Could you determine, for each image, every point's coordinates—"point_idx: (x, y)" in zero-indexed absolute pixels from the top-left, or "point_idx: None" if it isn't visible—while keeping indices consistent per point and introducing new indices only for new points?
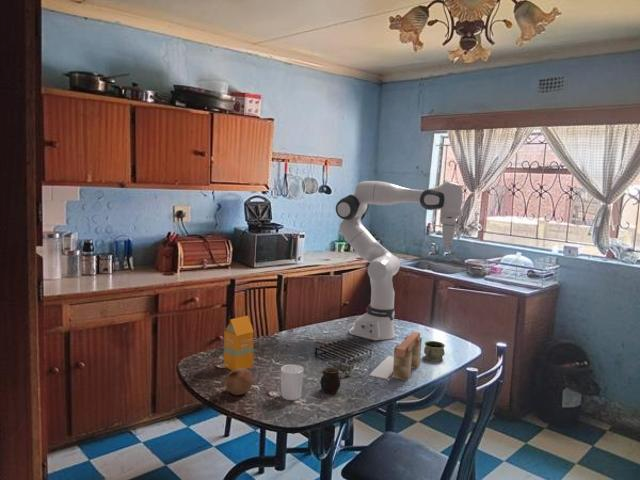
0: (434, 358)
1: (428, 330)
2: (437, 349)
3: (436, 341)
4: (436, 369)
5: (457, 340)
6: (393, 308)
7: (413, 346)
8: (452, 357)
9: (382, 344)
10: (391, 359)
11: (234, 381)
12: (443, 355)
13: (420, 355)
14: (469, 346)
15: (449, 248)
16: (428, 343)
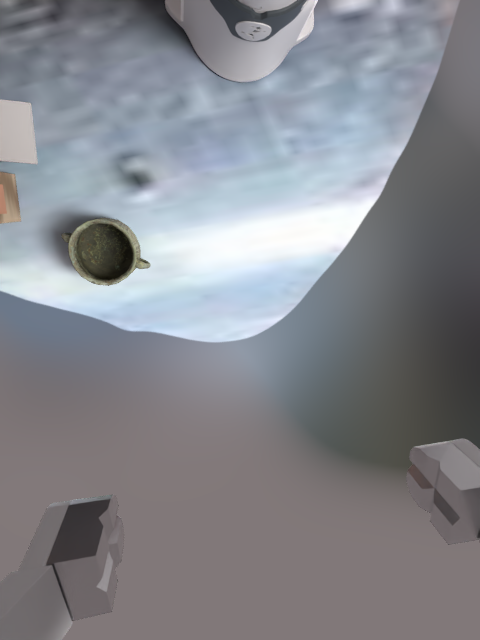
0: (88, 254)
1: (362, 186)
2: (79, 266)
3: (134, 253)
4: (24, 270)
5: (300, 285)
6: (265, 12)
7: None
8: (148, 294)
9: (141, 50)
10: (1, 121)
11: None
12: (106, 278)
13: (4, 222)
14: (263, 321)
15: (82, 604)
16: (119, 229)
